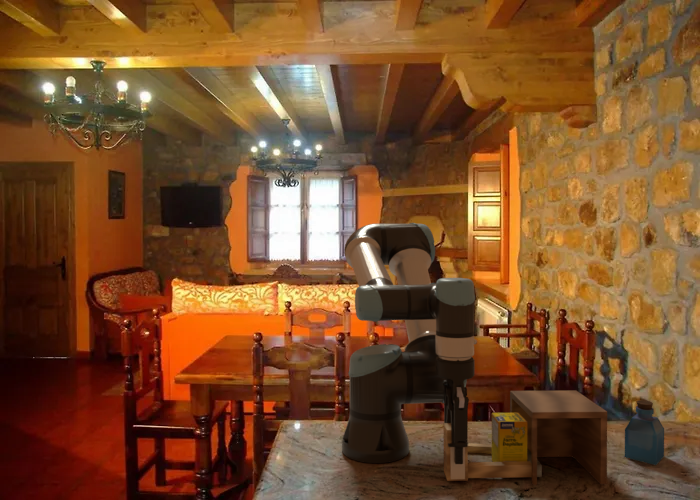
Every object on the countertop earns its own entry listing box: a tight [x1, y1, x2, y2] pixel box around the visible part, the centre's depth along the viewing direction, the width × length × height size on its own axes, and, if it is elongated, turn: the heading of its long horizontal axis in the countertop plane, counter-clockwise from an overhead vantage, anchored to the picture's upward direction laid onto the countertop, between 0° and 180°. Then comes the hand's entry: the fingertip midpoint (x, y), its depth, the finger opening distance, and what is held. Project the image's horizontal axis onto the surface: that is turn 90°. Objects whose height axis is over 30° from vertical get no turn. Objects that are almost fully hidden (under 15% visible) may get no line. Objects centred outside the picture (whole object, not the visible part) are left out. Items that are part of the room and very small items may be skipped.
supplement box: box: [491, 412, 527, 462], centre depth 116 cm, size 6×6×11 cm
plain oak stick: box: [468, 442, 492, 455], centre depth 125 cm, size 12×2×2 cm, turn 81°
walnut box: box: [509, 389, 608, 486], centre depth 116 cm, size 14×15×14 cm
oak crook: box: [442, 422, 543, 482], centre depth 115 cm, size 19×12×10 cm, turn 90°
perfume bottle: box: [624, 399, 665, 466], centre depth 122 cm, size 6×6×12 cm
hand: (455, 473), depth 111 cm, fingers closed on oak crook, 4 cm apart
